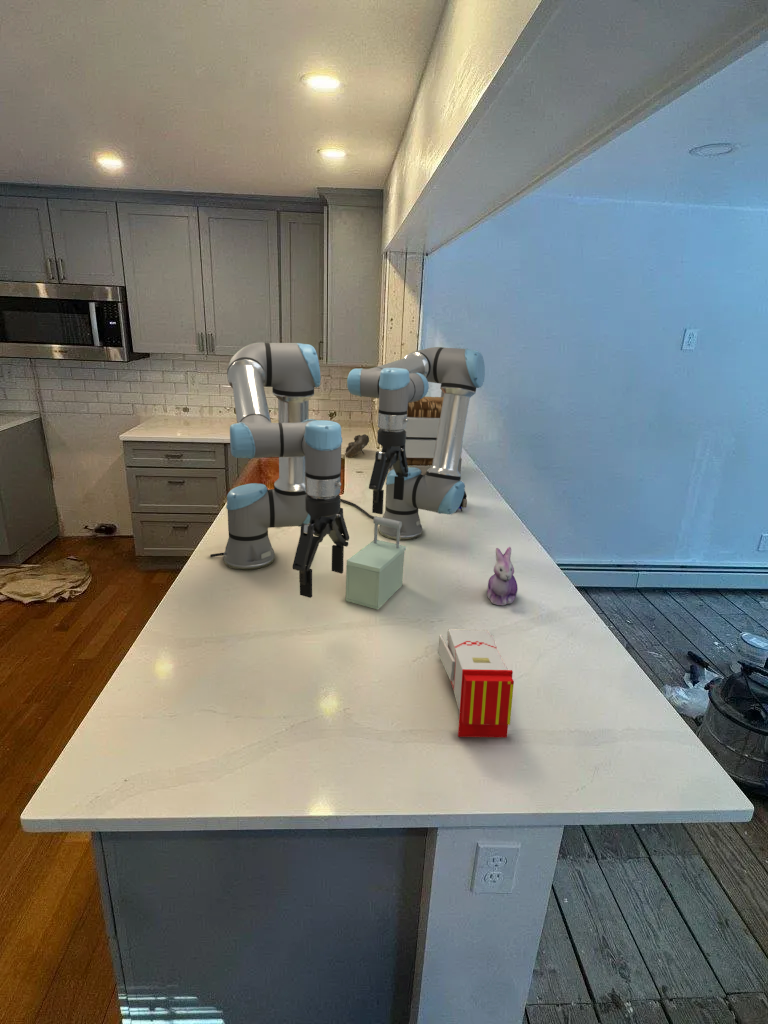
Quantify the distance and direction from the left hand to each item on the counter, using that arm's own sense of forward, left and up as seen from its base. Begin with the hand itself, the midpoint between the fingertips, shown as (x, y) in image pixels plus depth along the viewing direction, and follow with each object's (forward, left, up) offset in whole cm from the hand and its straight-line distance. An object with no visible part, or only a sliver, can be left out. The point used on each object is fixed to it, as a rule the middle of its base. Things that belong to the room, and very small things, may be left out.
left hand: (322, 583), depth 128 cm
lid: (0, +29, -5) cm, 29 cm away
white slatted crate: (-35, +149, -16) cm, 154 cm away
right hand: (0, +35, +8) cm, 36 cm away
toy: (+37, -1, -16) cm, 40 cm away
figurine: (+32, +43, -16) cm, 56 cm away
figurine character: (-3, +110, -16) cm, 111 cm away
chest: (0, +28, -16) cm, 32 cm away
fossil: (-78, +166, -16) cm, 184 cm away
